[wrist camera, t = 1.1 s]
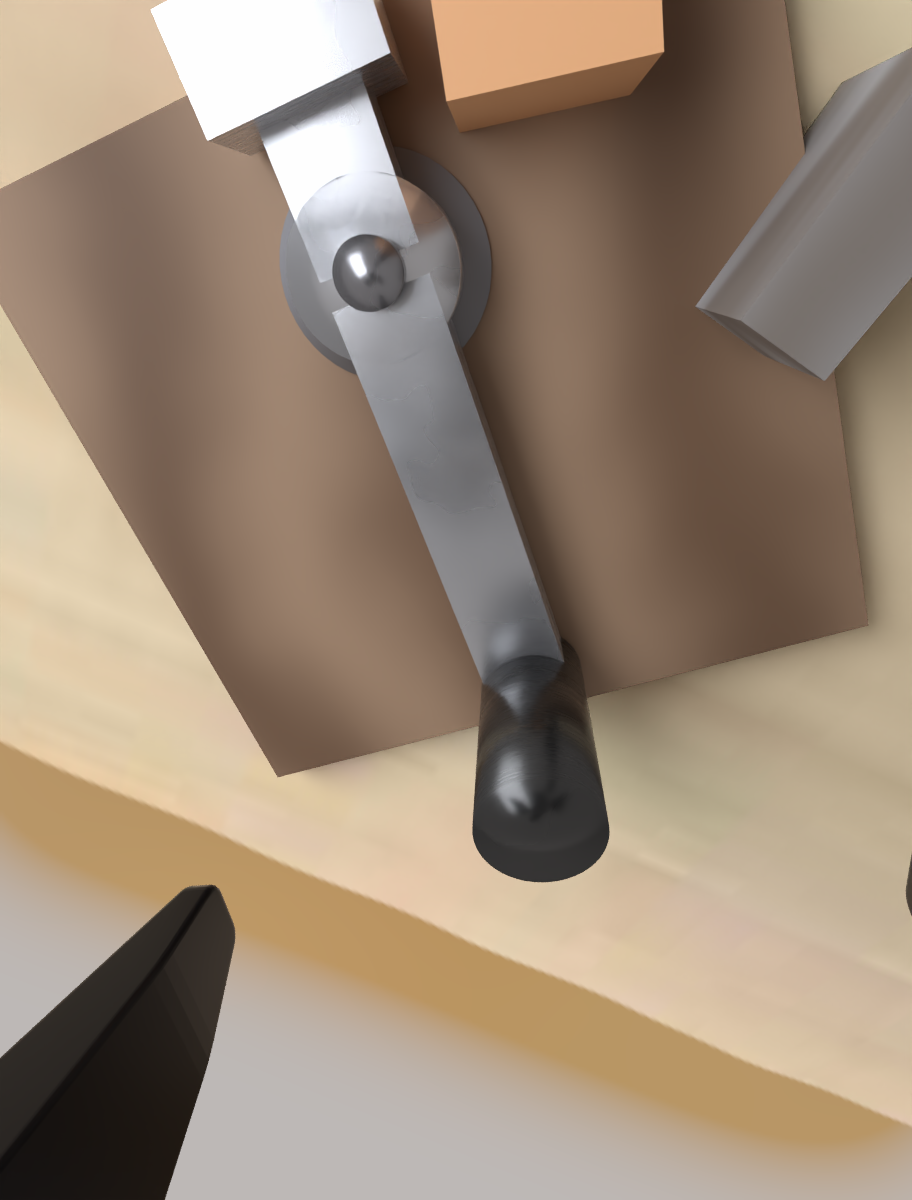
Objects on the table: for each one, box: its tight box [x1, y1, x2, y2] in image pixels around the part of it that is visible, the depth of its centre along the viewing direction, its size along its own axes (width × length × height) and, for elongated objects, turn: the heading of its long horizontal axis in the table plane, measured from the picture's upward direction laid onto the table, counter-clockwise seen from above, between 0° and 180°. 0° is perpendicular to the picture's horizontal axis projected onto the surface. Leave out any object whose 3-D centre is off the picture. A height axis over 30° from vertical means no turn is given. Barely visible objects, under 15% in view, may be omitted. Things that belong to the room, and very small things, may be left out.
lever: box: [151, 0, 609, 882], centre depth 14 cm, size 4×17×6 cm, turn 20°
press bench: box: [0, 0, 912, 777], centre depth 16 cm, size 20×17×4 cm
